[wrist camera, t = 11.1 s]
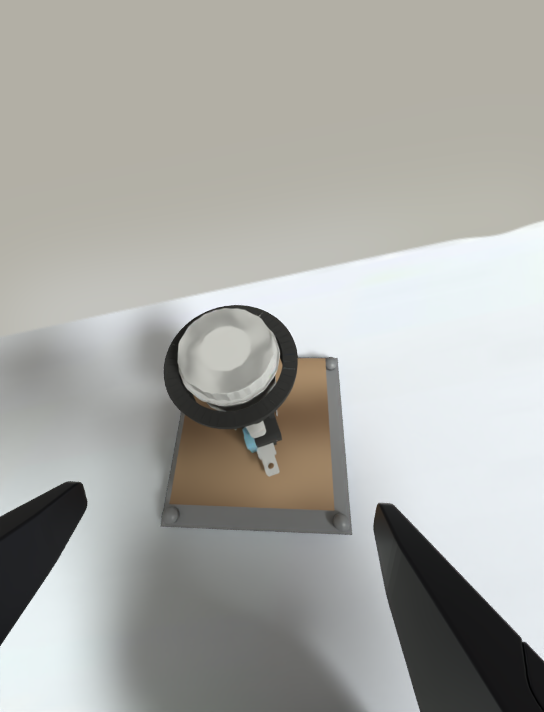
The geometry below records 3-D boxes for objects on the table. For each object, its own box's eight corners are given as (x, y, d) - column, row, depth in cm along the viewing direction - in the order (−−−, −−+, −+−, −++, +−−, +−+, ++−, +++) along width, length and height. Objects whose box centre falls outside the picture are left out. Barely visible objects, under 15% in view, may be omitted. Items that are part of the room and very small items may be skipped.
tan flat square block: (327, 507, 19) (334, 510, 16) (185, 502, 19) (169, 504, 17) (320, 373, 23) (325, 358, 21) (205, 372, 24) (194, 357, 21)
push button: (312, 461, 17) (339, 428, 8) (232, 490, 17) (170, 489, 8) (278, 370, 20) (271, 275, 11) (209, 393, 20) (144, 312, 11)
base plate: (348, 532, 19) (354, 536, 18) (166, 524, 20) (156, 527, 18) (335, 362, 25) (338, 355, 23) (194, 361, 26) (189, 354, 24)
